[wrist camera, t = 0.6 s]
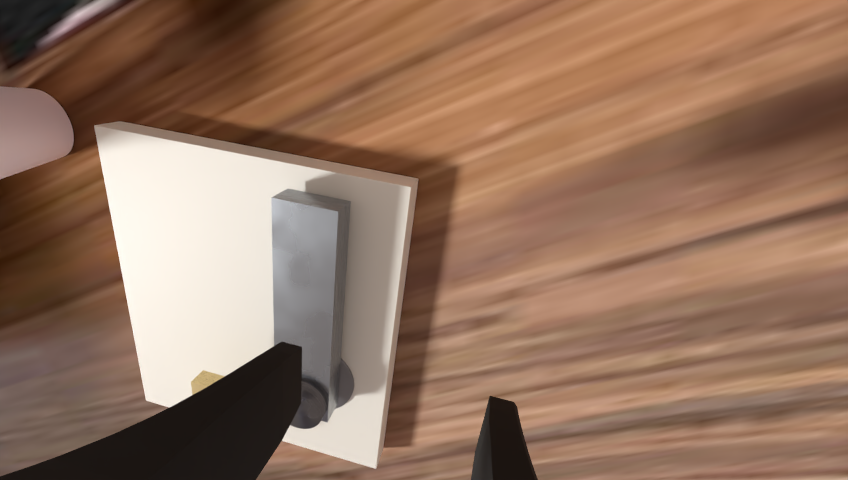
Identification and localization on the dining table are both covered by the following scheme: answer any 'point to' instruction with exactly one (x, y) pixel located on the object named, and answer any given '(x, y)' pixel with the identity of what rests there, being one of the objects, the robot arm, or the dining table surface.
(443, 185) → the dining table surface
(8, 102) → the smoothie
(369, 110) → the dining table surface
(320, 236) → the latch bar
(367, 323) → the base board
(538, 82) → the dining table surface
